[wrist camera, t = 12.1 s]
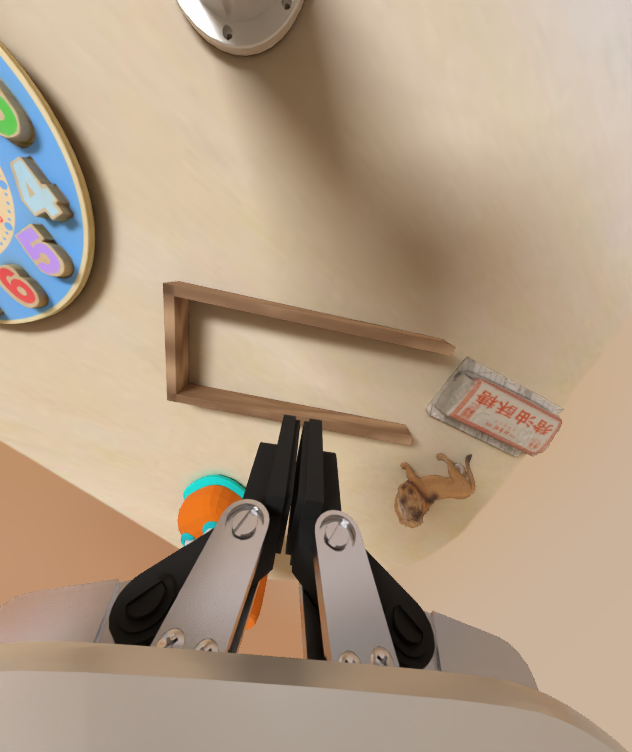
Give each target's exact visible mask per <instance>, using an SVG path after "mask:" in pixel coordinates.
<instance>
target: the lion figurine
mask: <svg viewBox="0 0 632 752" xmlns="http://www.w3.org/2000/svg"><path fill="white" fill-rule="evenodd" d="M471 457H472V454H471V455H467V457H466V460H465V462H466V469H467V472H466V470H465V468H464V466H463V465H462V464H460V463H457V464H455V465H454V463H453V462H452V461H451V460H450V459H448V458H447V457H446V456H445V455H444V454H438V455H437V459H438V460H444V461H445V462H446V463H447V464H448V472H449V475H450V477H449V478H445V477H442V476H437V475H430V476H425V477H423V478H419V477H417V476H416V475H415V474H414V472H413V470H412V469H411V467H410V466H409V465H408V464H407V463H402V464H401V468H402V469H405V470H406V474H407V478H408V481H406V482H405V483H404V484H401V485H400V487H399V490H398V494H397V496H396V498H395V506H394V507H395V512H396V514H397V516H398V518H399V521H400V524H404V525H405V526H409V527H411V528H415V527H417V526H418V525H421V524H422V523H423V516H424V514H426V512H427V511H428V510H429V507H430V506H431V505H432V504H433V503H434V501H435V500H439V499H443V498H456V499H465V498H467V497H469V496H470V495H471V494H472V493H473V492H474V490H475V481H474V478H473V475H472V473H471V470H470V467H469V462H470V460H471ZM459 469H460V472H459V471H458V470H459ZM467 473H468V477H469V481H470V482H468V480H467V479H466V477H467Z"/></svg>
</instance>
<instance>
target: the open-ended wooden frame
mask: <svg viewBox="0 0 632 752" xmlns="http://www.w3.org/2000/svg"><path fill="white" fill-rule="evenodd" d="M163 297H164V324H165V351H166V379H167V400H169V401H174V402H180V403H185V404H190V405H196V406H201V407H206V408H212V409H217V410H222V411H228V412H233V413H239V414H244V415H249V416H255V417H260V418H265V419H271V420H276V421H281V422H282V421H283V416H284V414H285V415H292V416H296V420H301V421H300V425H304V421H309V419H310V418H311V419H318V420H322V429H324V430H330V431H335V432H340V433H346V434H351V435H357V436H362V437H367V438H373V439H378V440H383V441H389V442H394V443H399V444H405V445H411V443H412V440H413V438H412V436H411V434H410V432H409V430H408V429H407V427H406V425H403V424H398V423H393V422H388V421H382V420H377V419H372V418H367V417H362V416H357V415H351V414H346V413H341V412H336V411H331V410H325V409H320V408H315V407H310V406H305V405H299V404H294V403H289V402H284V401H279V400H273V399H268V398H263V397H258V396H253V395H247V394H242V393H237V392H232V391H227V390H221V389H216V388H211V387H206V386H201V385H195V384H190V383H189V300H194V301H199V302H203V303H208V304H213V305H217V306H222V307H226V308H231V309H236V310H240V311H245V312H250V313H254V314H259V315H264V316H268V317H273V318H277V319H282V320H287V321H291V322H296V323H301V324H305V325H310V326H314V327H319V328H324V329H328V330H333V331H338V332H342V333H347V334H352V335H356V336H361V337H365V338H370V339H375V340H379V341H384V342H389V343H393V344H398V345H402V346H407V347H412V348H416V349H421V350H426V351H430V352H435V353H440V354H444V355H449V356H452V354H453V352H454V349H455V346H453V345H451V344H450V343H448V342H446V341H445V340H443V339H439V338H434V337H430V336H425V335H421V334H416V333H412V332H407V331H402V330H398V329H393V328H389V327H384V326H380V325H375V324H371V323H366V322H362V321H357V320H353V319H348V318H344V317H339V316H334V315H330V314H325V313H321V312H316V311H312V310H307V309H303V308H298V307H294V306H289V305H285V304H280V303H275V302H271V301H266V300H262V299H257V298H253V297H248V296H244V295H239V294H235V293H230V292H226V291H221V290H216V289H212V288H207V287H203V286H198V285H194V284H189V283H185V282H180V281H177V282H167V283H163Z"/></svg>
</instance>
